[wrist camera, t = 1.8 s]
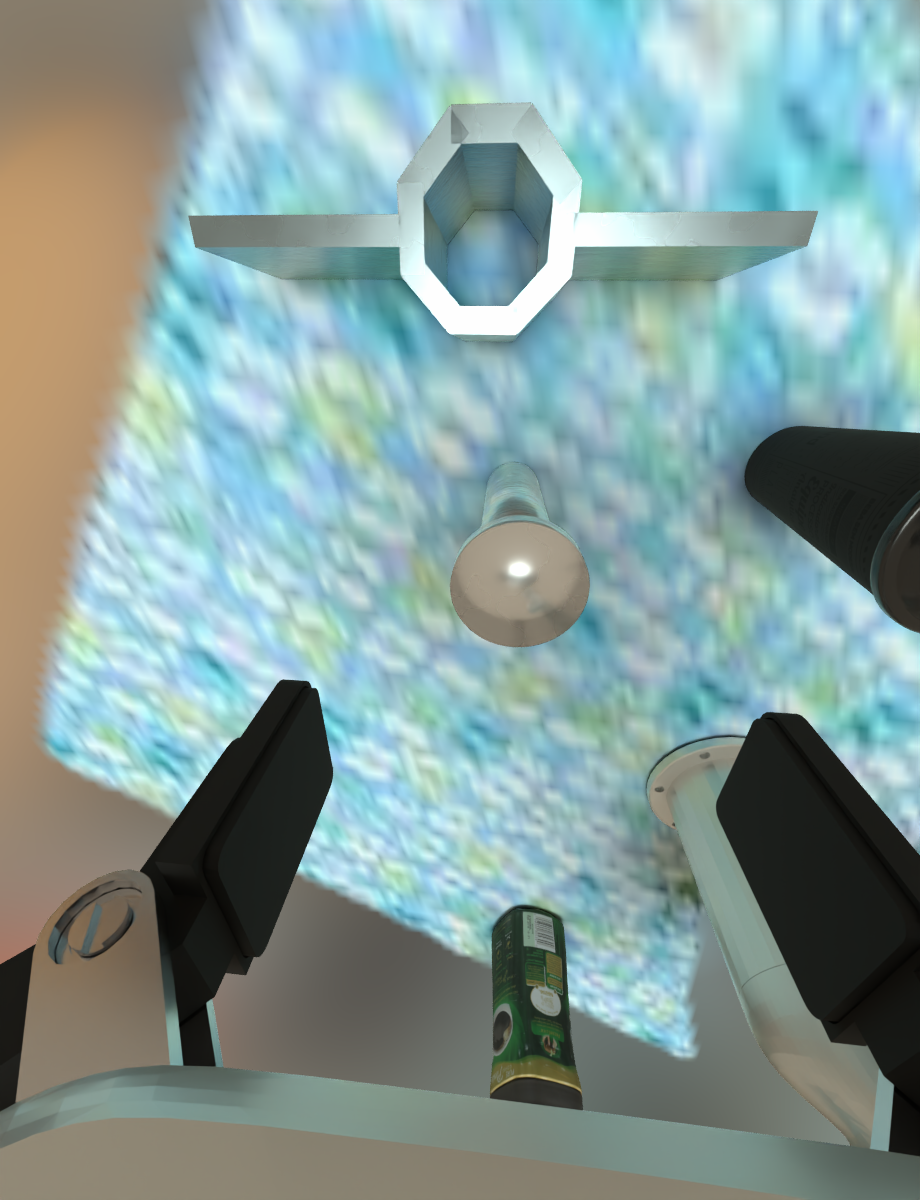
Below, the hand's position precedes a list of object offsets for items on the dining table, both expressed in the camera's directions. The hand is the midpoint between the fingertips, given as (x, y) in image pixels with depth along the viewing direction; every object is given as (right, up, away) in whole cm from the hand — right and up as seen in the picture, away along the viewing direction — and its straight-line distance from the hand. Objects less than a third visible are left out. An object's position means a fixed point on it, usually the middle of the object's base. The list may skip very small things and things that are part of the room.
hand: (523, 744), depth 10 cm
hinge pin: (+2, +11, +20) cm, 23 cm away
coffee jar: (+7, -39, +47) cm, 61 cm away
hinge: (0, +21, +14) cm, 26 cm away
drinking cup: (+19, +12, +18) cm, 29 cm away
